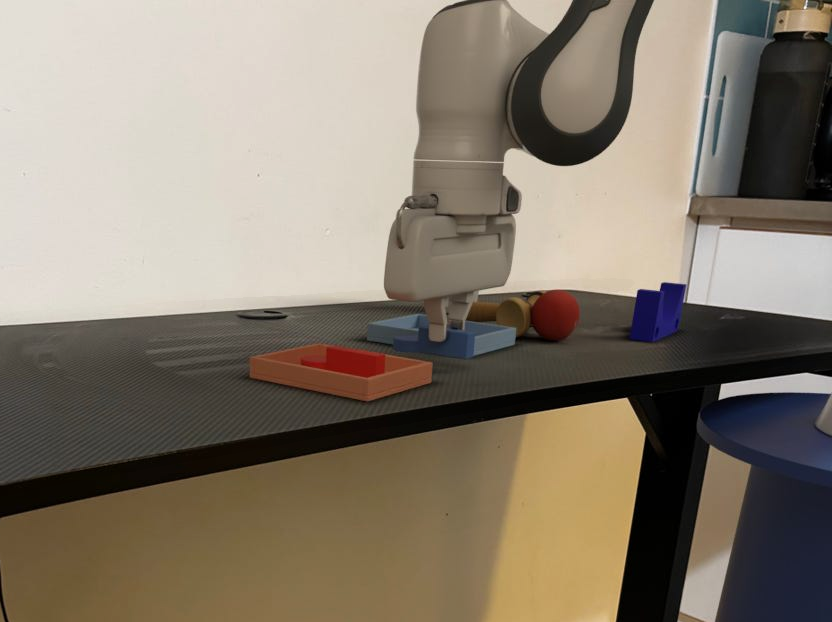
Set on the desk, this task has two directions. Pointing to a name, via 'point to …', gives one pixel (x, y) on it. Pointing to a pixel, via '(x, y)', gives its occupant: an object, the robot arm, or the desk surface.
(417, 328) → the blue tray
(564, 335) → the kendama
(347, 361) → the red stepped block
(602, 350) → the desk surface
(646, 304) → the cable clip
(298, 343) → the desk surface
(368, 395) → the red tray
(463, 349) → the blue stepped block
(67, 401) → the desk surface
